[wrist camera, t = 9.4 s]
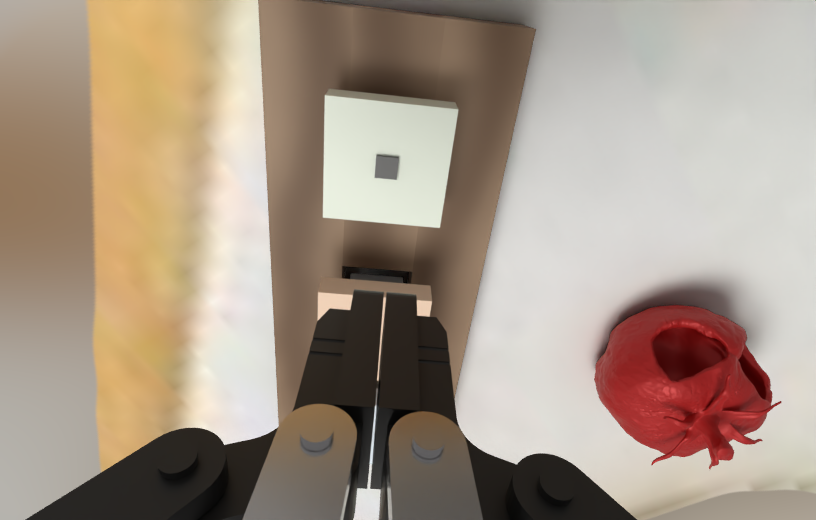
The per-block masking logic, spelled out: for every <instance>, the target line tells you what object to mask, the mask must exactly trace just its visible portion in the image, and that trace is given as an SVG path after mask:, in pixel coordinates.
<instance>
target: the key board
mask: <svg viewBox="0 0 816 520" xmlns="http://www.w3.org/2000/svg"><path fill="white" fill-rule="evenodd" d="M258 4H259V25H260V46H261V66H262V87H263V108H264V128H265V149H266V170H267V190H268V211H269V232H270V252H271V273H272V294H273V315H274V335H275V356H276V377H277V397H278V418H279V425H280V423H281V422H282V421H283V419H284V418H285V417H286V416H287V415H289V414H290V413H291V412H292V411H293V408H294V406H295V402H296V398H297V395H298V391H299V387H300V383H301V380H302V376H303V372H304V368H305V365H306V361H307V357H308V354H309V350H310V346H311V342H312V340H313V335H314V331H315V327H316V324H317V321H318V290H319V287H320V283H321V279H322V277H331V278H343V279H345V270H346V266H349V267H361V268H373V269H385V270H397V271H409V274H408V281H407V284H417V285H430V286H431V295H432V305H431V311H430V317H437V319H438V320H439V321H440V323H441V324H442V326H443V327H444V329H445V330H446V332H447V338H448V347H449V350H448V352H449V356H450V365H451V374H452V383H453V392H454V398H455V393H456V389H457V384H458V380H459V375H460V370H461V366H462V361H463V357H464V352H465V348H466V343H467V339H468V334H469V330H470V325H471V321H472V316H473V312H474V307H475V303H476V298H477V294H478V289H479V284H480V280H481V275H482V271H483V266H484V262H485V257H486V253H487V248H488V244H489V239H490V235H491V230H492V226H493V221H494V217H495V212H496V208H497V203H498V199H499V194H500V189H501V185H502V180H503V176H504V171H505V167H506V162H507V158H508V153H509V149H510V144H511V140H512V135H513V131H514V126H515V122H516V117H517V113H518V108H519V103H520V99H521V94H522V90H523V85H524V81H525V76H526V72H527V67H528V63H529V58H530V54H531V49H532V45H533V40H534V36H535V31H536V29H534V28H531V27H528V26H525V25H520V24H512V23H504V22H495V21H487V20H479V19H470V18H462V17H454V16H446V15H437V14H429V13H421V12H412V11H404V10H396V9H387V8H379V7H371V6H362V5H354V4H346V3H337V2H329V1H321V0H258ZM329 89H337V90H346V91H356V92H365V93H374V94H383V95H393V96H402V97H411V98H420V99H430V100H439V101H448V102H455V103H456V105H457V107H458V109H459V110H458V116H457V123H456V129H455V135H454V142H453V148H452V154H451V161H450V167H449V173H448V180H447V186H446V192H445V199H444V205H443V211H442V218H441V224H440V228H434V227H423V226H411V225H400V224H389V223H378V222H367V221H355V220H344V219H333V218H323V173H324V111H325V94H326V93H327V91H328V90H329ZM377 384H378V381H377Z"/></svg>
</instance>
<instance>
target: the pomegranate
mask: <svg viewBox="0 0 816 520" xmlns="http://www.w3.org/2000/svg"><path fill="white" fill-rule="evenodd" d="M746 340H747V335H746V331H745V330H744V329H743V328H742V327H741V326H739V325H737V324H736V323H734V322H732V321H730V320H729V319H727V318H725V317H724V316H720V315H717V314H714V313H713V312H711V311H709V310H707V309H704V308H699V307H694V306H682V305H669V306H658V307H652V308H649V309H646V310H644V311H642V312H640V313H637V314H635V315H633V316H630V317H629V318H627V319H626V320H625V321H623V322H622V323H620V324H619V325H617V326H616V327H615V328H614V329H613V330H612V332H611V334H610V340H609V343H608V345H607V349H606V351H605V353H604V354H603V355H602V356H601V358H600V359H599V360H598V361H597V363H596V367H595V368H596V373H595V378H594V381H595V383H596V389H597V392H598V395H599V398H600V400H601V402H602V403H603V404H604V406H605V407H606V408H607V409H608V410H609V412H610V413H611V414H612V416H613V417H614V418H615V420H616V421H617V422H618V423H619V424H620V426H621V427H622V428H623V429H624V430H625V432H626V433H627V434H629V435H630V436H632V437H633V438H634V439H635V440H637V441H638V442H640V443H641V444H644V445H646V446H648V447H650V448H653V449H656V450H659V451H660V452H662V453H664V454H665V455H663V456H661V457H658V458H656V459H655V460H654V461H653V462H652V465H653V464H654V463H655V462H657V461H660V460H663V459H667V458H670V457H672V456H680V457H686V456H690V455H692V454H695V453H696V452H698V451H700V450H703V449H706V448H708V449H709V453H710V457H711V464H710V466H709V469H710V468H711V467H712V466H715V465H718V464H719V460H731V459H732V458H733V454H734V450H733V448H732V446H731V445H730V444H729V442H730V441H731V440H732V439H734V440H736V441H738V442H740V443H743V444H755V443H757V442H759V441H762V439H757V440H752V439H750V438H748V437H745V436H744V435H745V434H747V433H750V432H754V431H756V430H757V429H758V428H760V426H761V425H762V424H763V422H764V421H765V419H766V416H767V412H769V411H770V410H771V409H772V408H773V407H775V406H777V405H778V404H780V403H781V401H780V402H778V403H776V404H774V405H772V406H771V402H772V391H771V390H770V386H771V385H770V379H769V377H768V375H767V374H766V373H765V372H764V371H763V370H762V368H761V367H760V366H759V365H758V363H757V362H756V360H755V358H754V356H753V355H752V354H751V353H750V352H749V350H748V348H747V346H746V345H745V342H746Z"/></svg>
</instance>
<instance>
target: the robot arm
mask: <svg viewBox="0 0 816 520" xmlns="http://www.w3.org/2000/svg"><path fill="white" fill-rule="evenodd" d="M383 298H384V292H379V291H368V290H356V289H354V292H353V298H352V303H351V309H350V310H343V309H331V308H330V309H329V310H328V311H327V312H326V313H325V314H324V315H323V316H322V317H321V318H320V319H319V320H318V321H317V324H316V327H315V331H314V335H313V340H312V342H311V346H310V350H309V354H308V357H307V361H306V365H305V368H304V372H303V376H302V380H301V383H300V387H299V391H298V395H297V398H296V402H295V406H294V408H293V411H292V412H291V413H290V414H289V415H287V416H286V417H285V418H284V419H283V421H282V422H281V423H280V425H279V427H278V428H277V429H275V430H274V431H272V432H270V433H268V434H266V435H264V436H261V437H258V438H255V439H251V440H246V441H242V442H237V443H232V444H227V445H224V444H223V442H222V441H221V439H220V438H219V437H218V436H217V435H215V434H214V433H212V432H210V431H208V430H205V429H201V428H184V429H178V430H175V431H171V432H169V433H166V434H164V435H162V436H160V437H158V438H156V439H155V440H153V441H152V442H150V443H148V444H147V445H145V446H144V447H142V448H140V449H139V450H137V451H135V452H134V453H132V454H131V455H129V456H127V457H126V458H124V459H123V460H121V461H119V462H118V463H116V464H114V465H113V466H111V467H110V468H108V469H106V470H105V471H103V472H102V473H100V474H98V475H97V476H95V477H94V478H92V479H90V480H89V481H87V482H85V483H84V484H82V485H81V486H79V487H78V488H76V489H74V490H73V491H71V492H69V493H68V494H66V495H64V496H63V497H62V498H60V499H58V500H56V501H55V502H53V503H52V504H50V505H48V506H47V507H45V508H44V509H42V510H40V511H39V512H37V513H35V514H34V515H32V516H31V517H29V518H27V519H26V520H353V518H354V513H355V505H356V495H357V488H365V489H367V483H368V473H369V463H370V453H371V443H372V433H373V423H374V413H375V401H376V388H377V375H378V363H379V350H380V337H381V324H382V311H383ZM448 350H449V347H448V338H447V332H446V330H445V329H444V327H443V326H442V324H441V323H440V321H439V320H438V319H437V317H428V316H417V296H416V295H415V294H404V293H392V292H387V293H386V303H385V313H384V323H383V333H382V343H381V354H380V366H379V379H378V393H377V406H376V420H375V433H374V447H373V460H372V473H371V487H370V489H381V494H380V512H379V520H637V519H635V518H634V517H633V516H632V515H631V514H630V513H629V512H627V511H626V510H625V509H624V508H623V507H622V506H621V505H619V504H618V503H617V502H616V501H615V500H614V499H613V498H612V497H610V496H609V495H608V494H607V493H606V492H605V491H604V490H602V489H601V488H600V487H599V486H598V485H597V484H596V483H594V482H593V481H592V480H591V479H590V478H589V477H588V476H586V475H585V474H584V473H583V472H582V471H581V470H580V469H578V468H577V467H576V466H575V465H573V464H572V463H570V462H568V461H567V460H565V459H563V458H560V457H558V456H555V455H550V454H533V455H530V456H527V457H525V458H524V459H522V460H521V461H520V462H519V463H518V464H517V465H516V464H513V463H511V462H508V461H505V460H503V459H500V458H497V457H494V456H492V455H489V454H487V453H485V452H483V451H482V450H480V449H478V448H477V447H476V446H474V445H473V444H472V443H471V442H470V441H469V440H468V439H467V438H466V437H465V436H464V434H463V433H462V431H461V429H460V428H459V425H458V422H457V418H456V410H455V401H454V392H453V383H452V374H451V365H450V356H449V352H448Z"/></svg>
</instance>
